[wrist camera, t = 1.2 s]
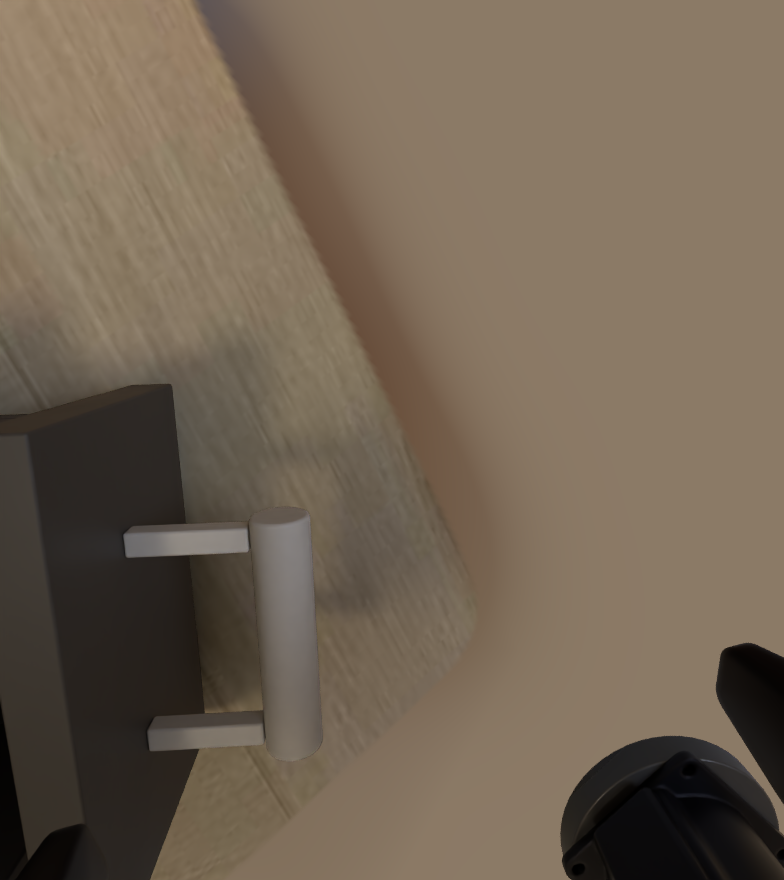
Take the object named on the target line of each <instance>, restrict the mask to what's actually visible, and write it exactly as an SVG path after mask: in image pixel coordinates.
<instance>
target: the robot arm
mask: <svg viewBox="0 0 784 880" xmlns="http://www.w3.org/2000/svg"><path fill="white" fill-rule="evenodd" d="M716 693H717V697H718V700H719V702H720V704H721V706H722V708H723V709H724V711H725V713H726V714H727V716H728V717H729V719H730V720H731V722H732V724H733V725H734V727H735V728H736V730H737V732H738V733H739V735H740V736H741V738H742V740H743V741H744V743H745V744H746V746H747V748H748V749H749V751H750V752H751V754H752V755H753V757H754V759H755V760H756V762H757V763H758V765H759V767H760V768H761V770H762V771H763V773H764V775H765V776H766V778H767V779H768V781H769V783H770V784H771V786H772V787H773V789H774V790H775V792H776V793H777V795H778V796H779V798H780V799H781V801H782V802H783V804H784V657H782V656H779V655H777V654H775V653H773V652H771V651H769V650H766V649H764V648H762V647H760V646H758V645H755V644H752V643H743V644H739V645H735V646H732V647H728V648H726V649H724V650H723V651H722V653H721V656H720V662H719V669H718V675H717V682H716ZM686 765H689V766H688V767H686V768H684V766H686ZM683 768H684V769H683ZM562 863H563V867H564V869H565V872H566V874H567V876H568V877H569V878H570V879H571V880H784V835H783V834H782V833H781V832H779V830H777V829H776V828H775V827H774V826H773V825H772V824H771V823H770V822H769V821H767V820H766V819H765V818H764V817H763V816H762V815H761V814H760V813H759V812H757V811H756V810H755V809H754V808H753V807H752V806H751V805H750V804H749V803H747V802H746V801H745V800H744V799H743V798H742V797H741V796H740V795H739V794H738V793H736V792H735V791H734V790H733V789H732V788H731V787H730V786H729V785H728V784H726V783H725V782H724V781H723V780H722V779H721V778H720V777H719V776H718V775H716V774H715V773H714V772H713V771H712V770H711V769H710V768H709V767H708V766H706V765H705V764H704V763H703V762H702V761H701V760H700V759H699V758H698V757H696V756H695V755H694V754H693V753H691V752H690V751H680V752H678V753H676V754H675V755H673V756H672V757H671V758H670V759H669V760H668V761H667V762H666V763H664V764H663V765H662V766H661V767H660V768H659V769H658V770H657V771H656V772H654V773H653V774H652V775H651V776H650V777H649V778H648V779H647V780H646V781H644V782H643V783H642V784H641V785H640V786H639V787H638V788H637V789H636V790H634V791H633V792H632V793H631V794H630V795H629V796H628V797H627V798H626V799H624V800H623V801H622V802H621V803H620V804H619V805H618V806H617V807H616V808H614V809H613V810H612V811H611V812H610V813H609V814H608V815H607V816H606V817H604V818H603V819H602V820H601V821H600V822H599V823H598V824H597V825H596V826H594V827H593V828H592V829H591V830H590V831H589V832H588V833H587V834H586V835H584V836H583V837H582V838H581V839H580V840H579V841H578V842H577V843H576V844H574V845H573V846H572V847H571V848H570V849H569V850H568V851H567V852H566V853H565V854H564V855H563V858H562ZM577 863H579V864H577ZM575 864H577V865H575ZM15 880H109V872H108V865H107V861H106V859H105V857H104V855H103V853H102V851H101V849H100V847H99V845H98V843H97V841H96V839H95V838H94V836H93V834H92V832H91V830H90V828H89V827H88V826H87V825H85V824H83V823H80V824H76V825H72V826H68V827H65V828H61V829H57V830H55V831H53V832H51V833H50V834H49V835H48V836H47V837H46V838H45V839H44V840H43V841H42V843H41V844H40V846H39V847H38V848H37V850H36V851H35V853H34V854H33V855H32V857H31V858H30V859H29V861H28V862H27V864H26V865H25V866H24V868H23V869H22V871H21V872H20V873H19V875H18V876H17V878H16V879H15Z"/></svg>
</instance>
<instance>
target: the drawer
mask: <svg viewBox="0 0 784 880" xmlns="http://www.w3.org/2000/svg"><path fill="white" fill-rule="evenodd" d="M250 548H251V558H252V570H253V583H254V596H255V609H256V621H257V634H258V647H259V659H260V672H261V685H262V697H263V710H260V711H243V712H225V713H207V714H205V711H204V701H203V691H202V681H201V671H200V661H199V651H198V641H197V631H196V621H195V611H194V601H193V591H192V581H191V571H190V561H189V555H202V554H224V553H246V552H249V550H250ZM265 738H266V747H267V750H268V752H269V753H270V754H271V755H272V756H273V757H274V758H276V759H278V760H281V761H288V762H290V761H298V760H302V759H305V758H307V757H309V756H311V755H312V754H314V753H315V752H316V751H317V750H318V749H319V747H320V745H321V743H322V739H323V733H322V715H321V698H320V681H319V663H318V646H317V629H316V611H315V594H314V577H313V559H312V542H311V525H310V515H309V513H308V511H306V510H304V509H301V508H296V507H275V508H269V509H265V510H262V511H259V512H256V513H254V514H253V515H252V516H251V517H250V519H249V521H241V522H218V523H194V524H186V521H185V511H184V501H183V491H182V481H181V471H180V461H179V451H178V441H177V431H176V422H175V412H174V402H173V392H172V385H171V384H153V385H131V386H127V387H124V388H120V389H117V390H113V391H110V392H106V393H103V394H99V395H96V396H92V397H89V398H85V399H82V400H78V401H75V402H71V403H68V404H64V405H61V406H57V407H54V408H50V409H47V410H43V411H40V412H36V413H32V414H23V415H0V880H15V879H16V878H17V876H18V875H19V873H20V872H21V871H22V869H23V868H24V866H25V865H26V864H27V862H28V861H29V859H30V858H31V857H32V855H33V854H34V853H35V851H36V850H37V848H38V847H39V846H40V844H41V843H42V841H43V840H44V839H45V838H46V837H47V836H48V835H49V834H50V833H51V832H53V831H55V830H57V829H61V828H65V827H68V826H72V825H76V824H80V823H83V824H85V825H87V826H88V827H89V828H90V830H91V832H92V834H93V836H94V838H95V839H96V841H97V843H98V845H99V847H100V849H101V851H102V853H103V855H104V857H105V859H106V861H107V865H108V872H109V880H150V878H151V875H152V872H153V870H154V867H155V864H156V862H157V859H158V857H159V854H160V851H161V849H162V846H163V843H164V841H165V838H166V835H167V833H168V830H169V827H170V825H171V822H172V820H173V817H174V814H175V812H176V809H177V806H178V804H179V801H180V798H181V796H182V793H183V791H184V788H185V785H186V783H187V780H188V777H189V775H190V772H191V769H192V767H193V764H194V761H195V759H196V756H197V754H198V751H199V749H201V748H218V747H235V746H252V745H262V744H264V742H265Z"/></svg>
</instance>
